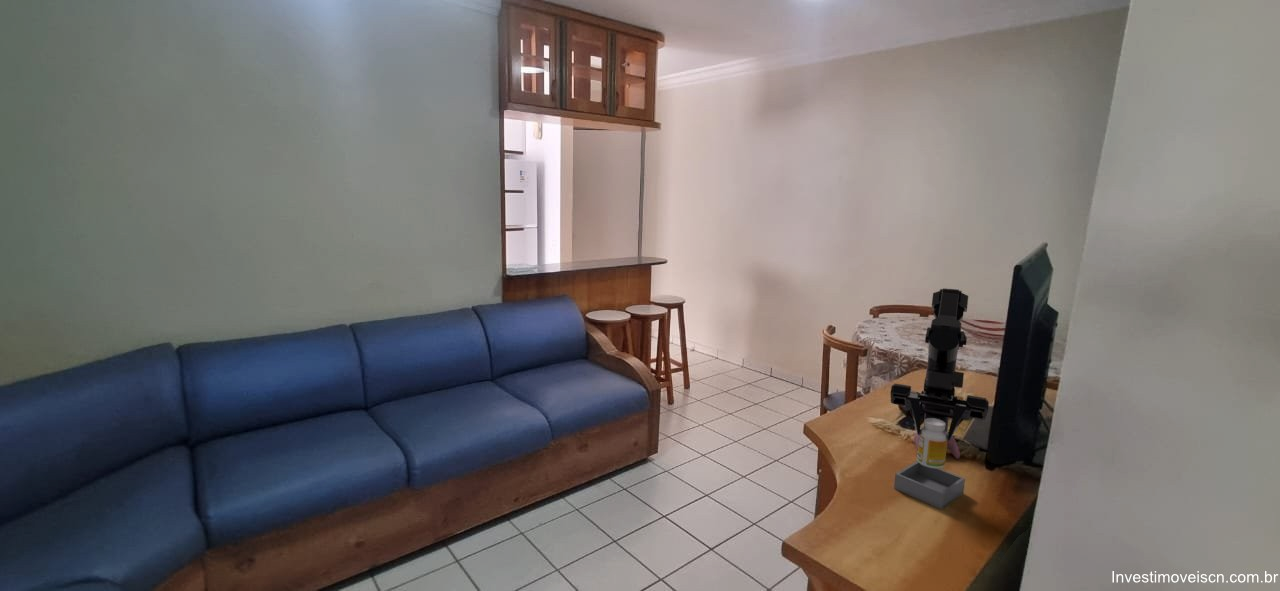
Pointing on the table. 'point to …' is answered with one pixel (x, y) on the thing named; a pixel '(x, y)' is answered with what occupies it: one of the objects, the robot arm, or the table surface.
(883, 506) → the table surface
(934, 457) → the supplement bottle
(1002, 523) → the table surface
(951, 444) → the video game controller
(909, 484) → the trough tray
